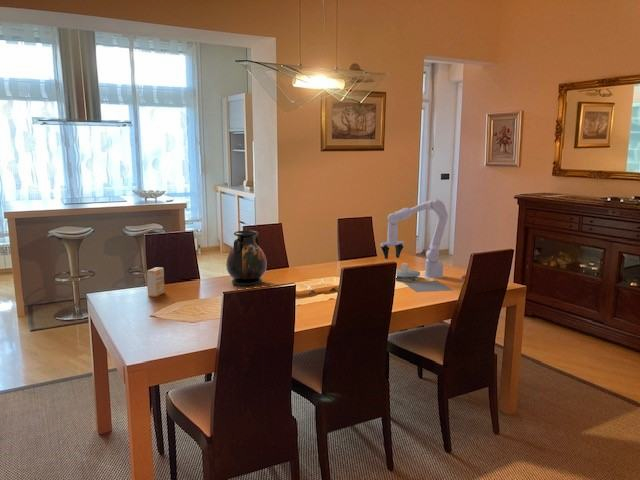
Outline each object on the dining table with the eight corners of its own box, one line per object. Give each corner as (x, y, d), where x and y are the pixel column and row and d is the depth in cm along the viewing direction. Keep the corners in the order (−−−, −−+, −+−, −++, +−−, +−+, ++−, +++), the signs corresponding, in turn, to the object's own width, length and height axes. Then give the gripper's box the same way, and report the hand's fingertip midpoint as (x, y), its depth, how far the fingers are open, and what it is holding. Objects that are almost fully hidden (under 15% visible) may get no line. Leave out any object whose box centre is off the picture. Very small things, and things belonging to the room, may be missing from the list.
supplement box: (156, 297, 248) (155, 270, 246) (147, 296, 249) (146, 270, 247) (165, 292, 256) (164, 267, 254) (156, 292, 257) (155, 266, 255)
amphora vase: (249, 290, 261) (248, 236, 256) (218, 285, 272) (216, 232, 267) (275, 281, 279) (274, 231, 274) (244, 277, 290) (243, 228, 286)
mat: (437, 281, 281) (437, 280, 281) (453, 290, 261) (453, 290, 261) (402, 283, 277) (402, 282, 277) (416, 292, 258) (416, 291, 258)
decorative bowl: (422, 279, 288) (398, 275, 297) (422, 273, 287) (398, 269, 296) (410, 285, 276) (385, 280, 285) (410, 278, 276) (385, 274, 284)
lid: (400, 269, 298) (400, 259, 297) (425, 273, 286) (426, 263, 285) (383, 273, 285) (383, 263, 285) (409, 278, 274) (409, 268, 273)
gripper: (385, 236, 283) (384, 260, 285) (407, 234, 289) (406, 258, 291) (378, 234, 289) (378, 258, 291) (400, 233, 295) (399, 256, 297)
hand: (391, 258), depth 291 cm, fingers open, 7 cm apart
